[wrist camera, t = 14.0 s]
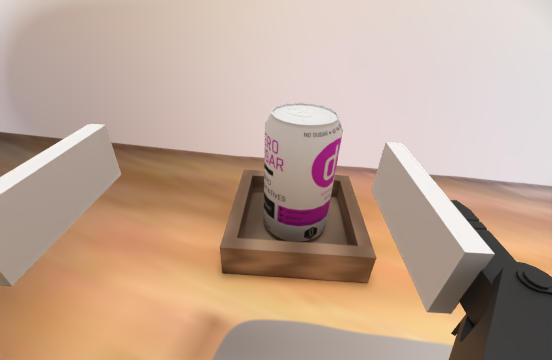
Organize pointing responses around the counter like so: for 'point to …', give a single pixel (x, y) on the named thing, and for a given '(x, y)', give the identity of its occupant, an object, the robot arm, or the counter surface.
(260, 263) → the tray
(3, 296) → the counter surface
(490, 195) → the counter surface
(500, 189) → the counter surface
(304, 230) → the supplement can
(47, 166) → the robot arm
